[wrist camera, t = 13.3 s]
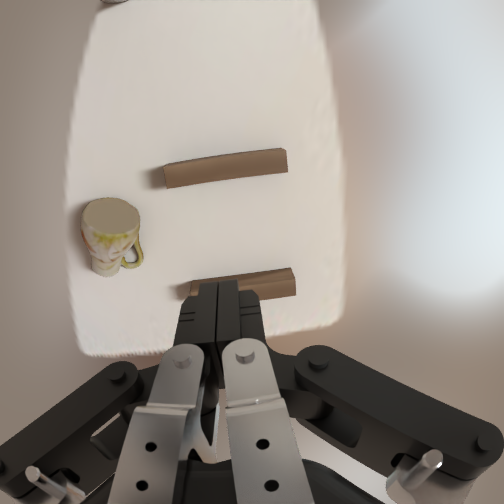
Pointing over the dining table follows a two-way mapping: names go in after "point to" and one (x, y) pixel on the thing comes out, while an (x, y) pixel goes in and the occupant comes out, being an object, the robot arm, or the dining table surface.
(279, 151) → the wooden guide rails
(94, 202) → the mug
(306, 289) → the dining table surface
